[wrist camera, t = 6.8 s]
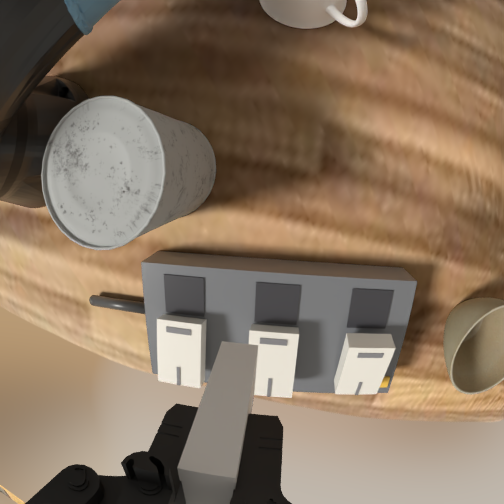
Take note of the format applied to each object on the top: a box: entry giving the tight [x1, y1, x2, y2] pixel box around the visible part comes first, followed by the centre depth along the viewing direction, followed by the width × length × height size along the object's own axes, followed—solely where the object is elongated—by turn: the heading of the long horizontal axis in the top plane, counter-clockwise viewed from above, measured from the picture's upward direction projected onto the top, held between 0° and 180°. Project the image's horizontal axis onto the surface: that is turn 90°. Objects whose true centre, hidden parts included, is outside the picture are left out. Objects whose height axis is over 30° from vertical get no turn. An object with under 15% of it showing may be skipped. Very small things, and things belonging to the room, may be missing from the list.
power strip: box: [89, 251, 417, 393], centre depth 30 cm, size 33×12×4 cm, turn 87°
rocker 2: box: [249, 324, 299, 398], centre depth 26 cm, size 4×6×2 cm, turn 178°
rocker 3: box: [334, 333, 395, 395], centre depth 25 cm, size 4×6×2 cm, turn 177°
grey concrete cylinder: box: [41, 96, 216, 250], centre depth 23 cm, size 10×10×12 cm
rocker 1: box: [157, 314, 207, 388], centre depth 27 cm, size 4×6×2 cm, turn 178°
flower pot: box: [444, 297, 504, 394], centre depth 26 cm, size 10×10×7 cm
